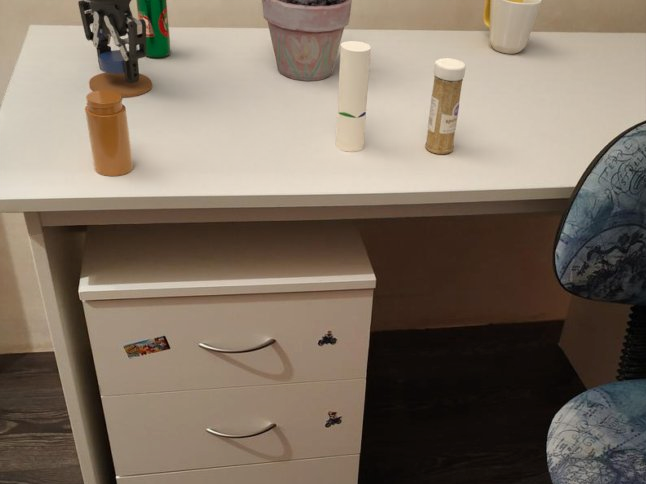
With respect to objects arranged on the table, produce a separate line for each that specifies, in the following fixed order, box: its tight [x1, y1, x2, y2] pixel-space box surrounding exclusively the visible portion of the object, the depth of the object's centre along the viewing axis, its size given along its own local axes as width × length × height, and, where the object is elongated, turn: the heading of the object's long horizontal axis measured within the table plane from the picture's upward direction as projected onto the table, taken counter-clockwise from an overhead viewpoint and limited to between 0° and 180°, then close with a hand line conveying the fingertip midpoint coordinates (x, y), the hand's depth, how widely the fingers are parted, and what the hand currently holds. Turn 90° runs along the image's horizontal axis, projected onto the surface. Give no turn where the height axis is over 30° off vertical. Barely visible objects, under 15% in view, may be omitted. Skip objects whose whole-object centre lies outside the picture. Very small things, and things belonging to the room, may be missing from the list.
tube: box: [335, 40, 372, 153], centre depth 120 cm, size 4×4×15 cm
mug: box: [482, 0, 543, 55], centre depth 164 cm, size 14×10×10 cm
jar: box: [84, 90, 134, 177], centre depth 109 cm, size 5×5×10 cm
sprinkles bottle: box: [424, 57, 467, 155], centre depth 122 cm, size 5×5×14 cm
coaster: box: [88, 72, 153, 98], centre depth 134 cm, size 10×10×1 cm
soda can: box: [135, 0, 172, 59], centre depth 142 cm, size 5×5×12 cm
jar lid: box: [98, 49, 129, 73], centre depth 131 cm, size 6×6×2 cm
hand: (119, 75), depth 133 cm, fingers open, 6 cm apart
